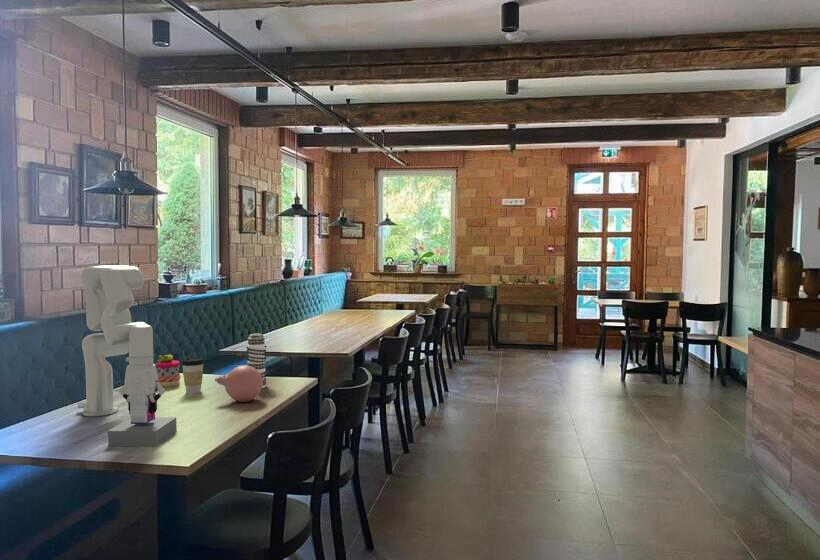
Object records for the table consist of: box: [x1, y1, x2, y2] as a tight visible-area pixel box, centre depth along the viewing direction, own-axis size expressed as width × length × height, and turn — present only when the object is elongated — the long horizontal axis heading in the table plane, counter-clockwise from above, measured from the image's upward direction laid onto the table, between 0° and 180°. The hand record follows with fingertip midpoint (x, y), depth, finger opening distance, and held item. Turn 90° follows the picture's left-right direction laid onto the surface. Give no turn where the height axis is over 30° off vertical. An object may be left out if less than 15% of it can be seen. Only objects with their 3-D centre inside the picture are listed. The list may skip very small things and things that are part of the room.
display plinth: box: [107, 416, 178, 447], centre depth 202 cm, size 16×16×5 cm
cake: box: [156, 354, 182, 388], centre depth 284 cm, size 10×11×15 cm
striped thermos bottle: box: [246, 333, 267, 389], centre depth 278 cm, size 9×9×25 cm
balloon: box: [214, 364, 263, 403], centre depth 252 cm, size 15×20×15 cm
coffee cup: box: [180, 357, 205, 395], centre depth 268 cm, size 10×10×15 cm
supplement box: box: [129, 391, 156, 424], centre depth 202 cm, size 6×6×12 cm
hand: (142, 412), depth 202 cm, fingers open, 6 cm apart
